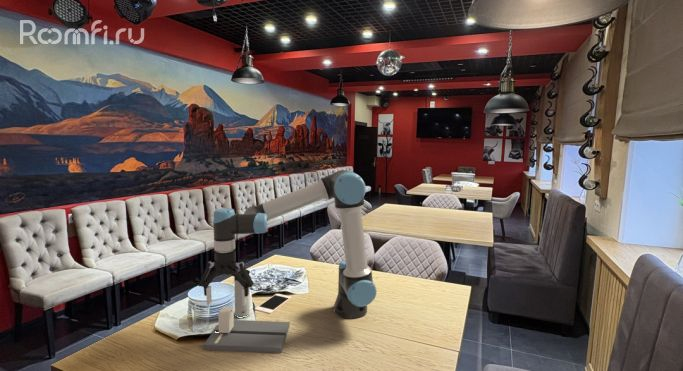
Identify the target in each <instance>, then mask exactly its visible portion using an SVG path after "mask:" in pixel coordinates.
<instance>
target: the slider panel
mask: <svg viewBox="0 0 683 371" xmlns="http://www.w3.org/2000/svg"><path fill="white" fill-rule="evenodd" d="M290 325H291V323H290V321H274V320H273V321H272V320H270V321H269V320H268V321H267V320H248V319H247V320H245V319H244V320H243V319H234V326H233V328H232V329H231V331H230V333H215V331H216V332H219V323H218V324H217V325H216V327H215V328H214V332H212V333H211V334H210V335H209V337H208V338H207V339H206V341H205V342H204V343H203V350H204V351H225V352H227V351H229V352H232V351H233V352H250V353H252V352H253V353H254V352H255V353H272V354H273V353H280V354H281V353H282V350H283V349H284V348H283V347H284V345H285V343H286V342H285V341H286V338H287V336H288V333H289V330H290Z"/></svg>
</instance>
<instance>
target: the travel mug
mask: <svg viewBox="0 0 683 371" xmlns="http://www.w3.org/2000/svg"><path fill="white" fill-rule="evenodd" d="M246 270H247V272H248V274H249V275H250V273H251V271H250V270H249V269H246ZM237 271H238V273H239V274H240V275H241V276H242V277H243V275H242V273H241V271H240V270H237ZM233 277H234V276H233ZM243 278H244V277H243ZM233 279H234V281H233V282H234V283H233V284H234V290H233V291H234V292H233V293H234V316H235V315H236V316H238V317H243V316H247V315H248V314H249V313H250V311H251V309H250V304H251V303H250V302H251V301H250V288H251V287H249V294H248V296H246V300H247V303H246V304H245V306H242V289H243V286H242V285H241V284H240V283H239V282H238V281H237V280H236V278H235V277H234V278H233Z"/></svg>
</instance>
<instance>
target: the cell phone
mask: <svg viewBox="0 0 683 371" xmlns="http://www.w3.org/2000/svg"><path fill="white" fill-rule="evenodd" d="M291 299H292V296H290V295H285V294H282V293H275V294H273V296H271V297H269V298H268V299H266V300H265V301H264V302H262V303H260V304H259V305H257V306H256V307H255V308H254V311H258V312H262V313H266V314H268V315H271V314H273V313H274V312H275V311H276V310H278V309H279V308H281V307H282V306H283V305H284V304H286V303H287V302H288V301H290V300H291Z"/></svg>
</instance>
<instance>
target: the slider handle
mask: <svg viewBox="0 0 683 371" xmlns="http://www.w3.org/2000/svg"><path fill="white" fill-rule="evenodd" d="M234 316H235V310H234V306H227V305H226V306H225V305H223V306H222V308H220V309H219V311H218V316H217V317H218V324H219V333H230V331H231V329H232V328H233V326H234V320H235V319H234Z"/></svg>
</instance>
